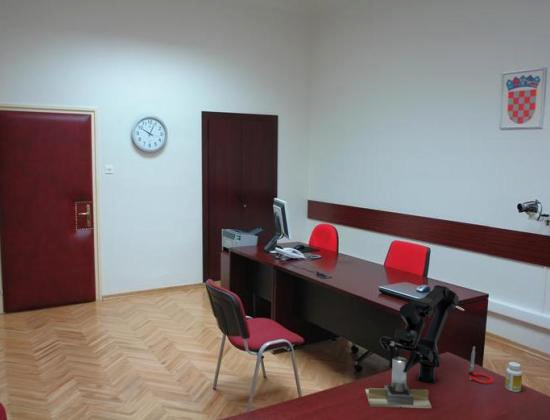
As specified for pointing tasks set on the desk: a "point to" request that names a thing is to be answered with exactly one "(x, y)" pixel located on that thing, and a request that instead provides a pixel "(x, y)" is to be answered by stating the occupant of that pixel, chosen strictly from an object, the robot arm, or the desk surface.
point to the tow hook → (472, 373)
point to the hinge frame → (398, 397)
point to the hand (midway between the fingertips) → (397, 370)
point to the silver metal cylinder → (399, 374)
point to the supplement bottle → (513, 377)
